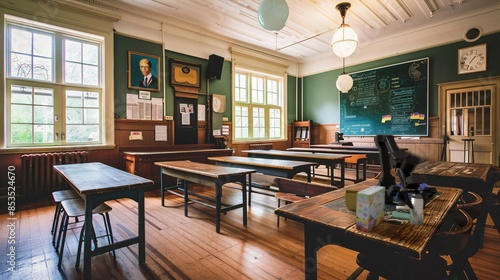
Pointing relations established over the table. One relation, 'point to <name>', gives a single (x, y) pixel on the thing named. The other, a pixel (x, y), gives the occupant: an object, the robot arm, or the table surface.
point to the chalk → (402, 207)
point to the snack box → (370, 208)
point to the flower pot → (351, 199)
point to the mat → (401, 215)
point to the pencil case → (418, 188)
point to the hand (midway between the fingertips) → (418, 209)
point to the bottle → (416, 209)
